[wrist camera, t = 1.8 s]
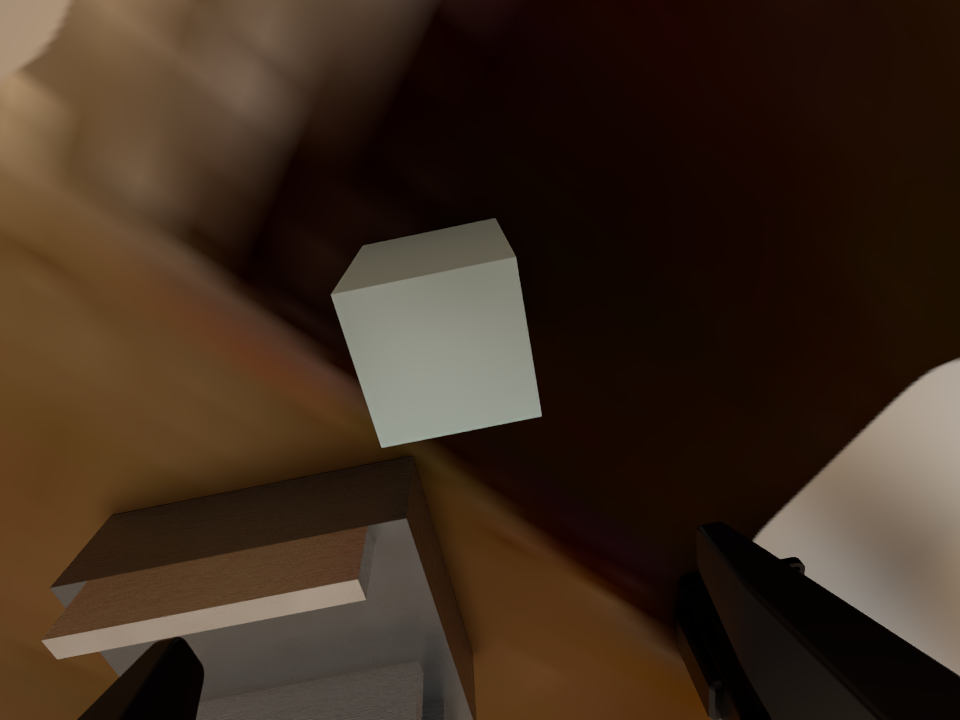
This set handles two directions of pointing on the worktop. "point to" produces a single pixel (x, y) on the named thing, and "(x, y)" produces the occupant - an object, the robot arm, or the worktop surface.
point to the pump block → (439, 333)
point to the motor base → (283, 599)
